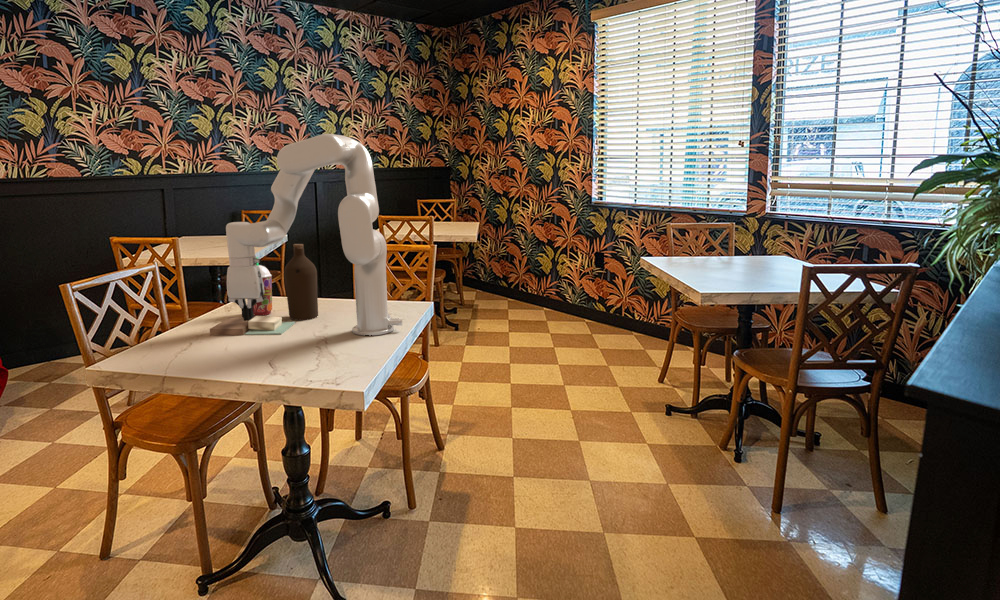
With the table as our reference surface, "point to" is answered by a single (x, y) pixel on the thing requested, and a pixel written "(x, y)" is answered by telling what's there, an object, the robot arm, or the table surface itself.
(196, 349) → the table surface
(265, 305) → the smoothie
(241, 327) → the deck
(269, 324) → the tile
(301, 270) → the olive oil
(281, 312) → the table surface
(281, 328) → the mat
